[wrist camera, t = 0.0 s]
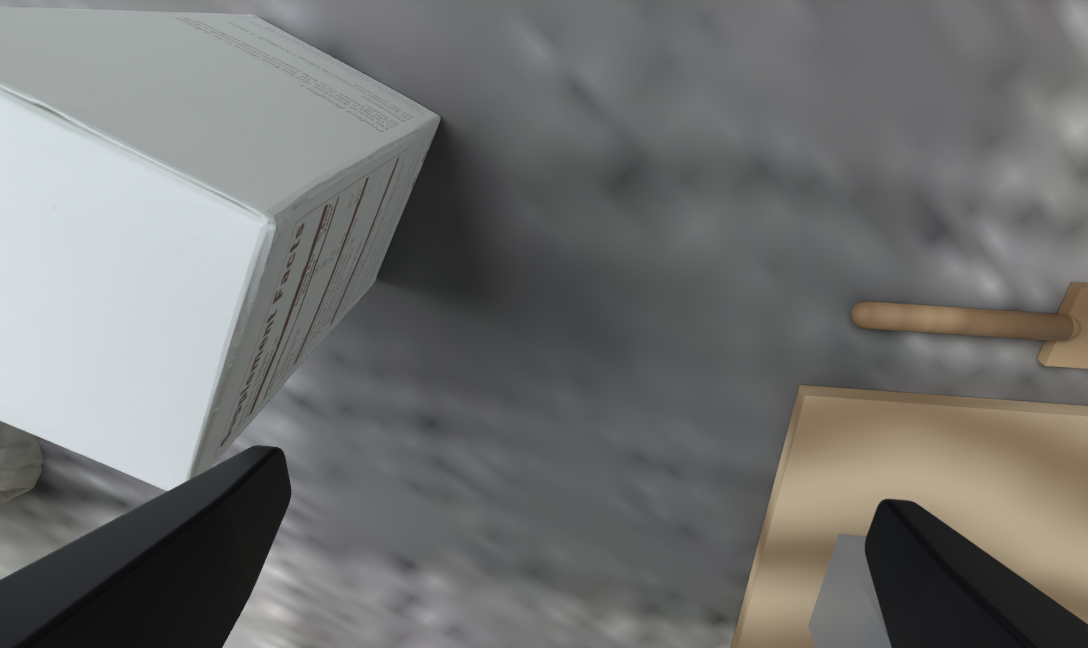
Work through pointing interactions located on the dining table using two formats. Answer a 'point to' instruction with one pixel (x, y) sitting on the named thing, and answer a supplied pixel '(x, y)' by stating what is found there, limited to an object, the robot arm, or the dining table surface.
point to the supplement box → (181, 223)
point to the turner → (994, 324)
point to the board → (919, 493)
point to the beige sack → (18, 462)
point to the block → (848, 601)
